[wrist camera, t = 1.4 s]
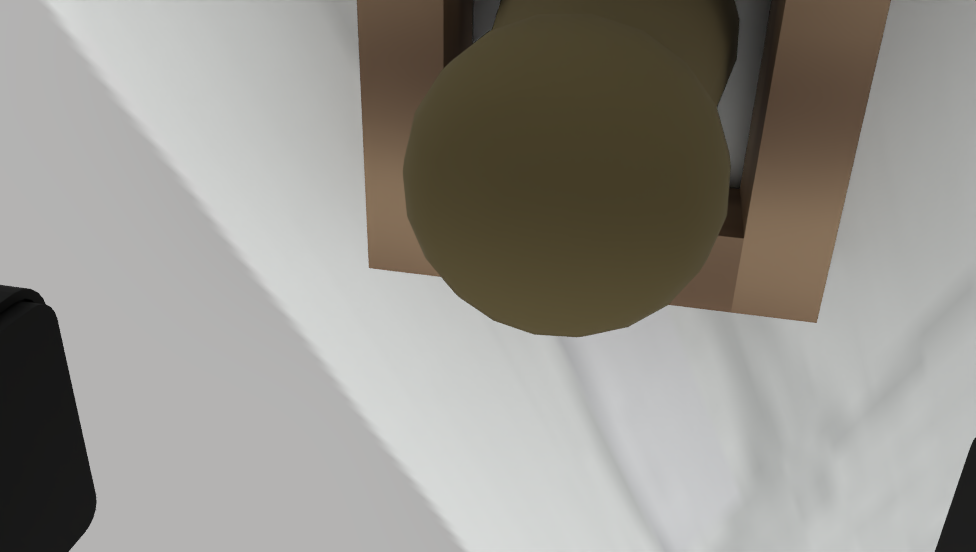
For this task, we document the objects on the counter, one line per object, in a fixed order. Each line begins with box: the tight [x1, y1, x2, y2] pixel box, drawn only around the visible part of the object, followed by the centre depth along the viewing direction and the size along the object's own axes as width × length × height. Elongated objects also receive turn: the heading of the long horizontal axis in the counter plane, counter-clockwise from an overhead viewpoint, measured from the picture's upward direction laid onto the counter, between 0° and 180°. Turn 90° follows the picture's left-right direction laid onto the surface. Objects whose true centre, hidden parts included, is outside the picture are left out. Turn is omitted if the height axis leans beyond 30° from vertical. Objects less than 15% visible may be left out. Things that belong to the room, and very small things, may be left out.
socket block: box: [357, 0, 891, 323], centre depth 21 cm, size 11×11×3 cm
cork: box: [403, 0, 740, 337], centre depth 18 cm, size 6×6×11 cm
